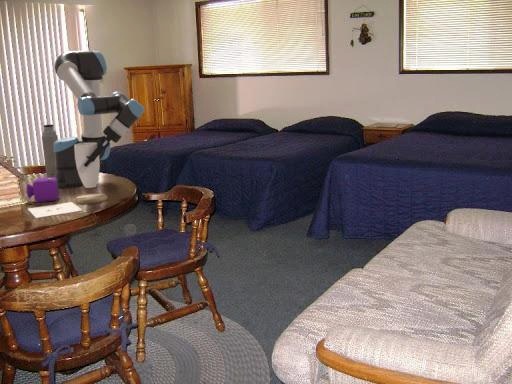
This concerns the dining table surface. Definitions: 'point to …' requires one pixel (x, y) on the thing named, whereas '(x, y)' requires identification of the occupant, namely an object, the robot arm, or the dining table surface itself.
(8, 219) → the dining table surface
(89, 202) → the coaster
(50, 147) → the thermos bottle
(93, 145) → the cup
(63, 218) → the dining table surface
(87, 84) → the robot arm
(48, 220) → the dining table surface
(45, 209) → the board
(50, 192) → the toy camera
